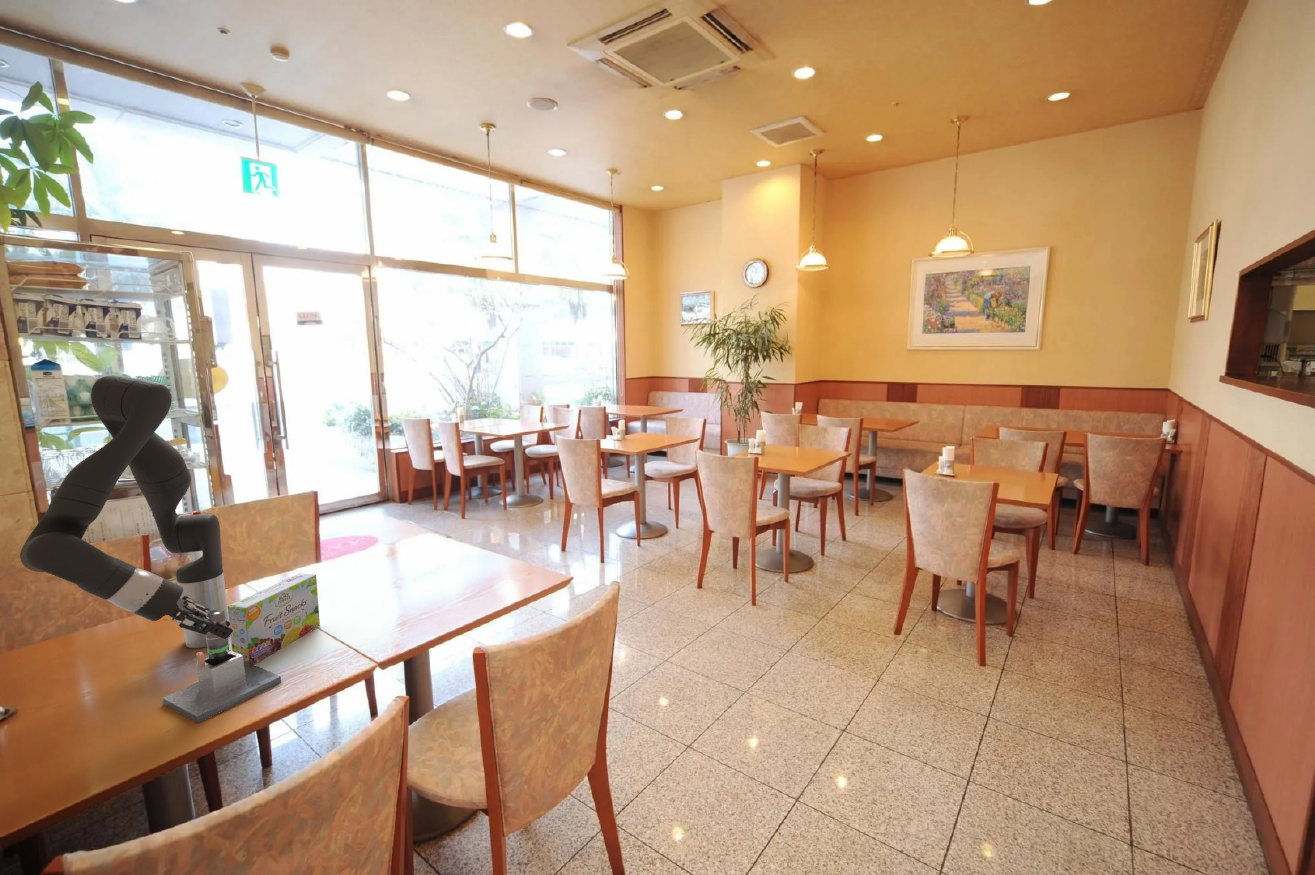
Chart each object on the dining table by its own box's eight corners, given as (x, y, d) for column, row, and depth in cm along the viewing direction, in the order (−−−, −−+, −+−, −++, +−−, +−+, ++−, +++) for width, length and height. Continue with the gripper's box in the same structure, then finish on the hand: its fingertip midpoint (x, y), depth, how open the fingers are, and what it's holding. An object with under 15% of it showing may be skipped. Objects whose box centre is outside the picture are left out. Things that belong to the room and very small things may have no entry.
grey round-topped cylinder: (206, 669, 122) (199, 615, 120) (225, 661, 125) (219, 608, 123) (215, 674, 120) (208, 618, 118) (235, 665, 123) (228, 611, 121)
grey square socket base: (163, 704, 119) (156, 655, 118) (246, 667, 133) (240, 623, 132) (198, 723, 113) (191, 672, 111) (281, 682, 127) (276, 636, 126)
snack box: (252, 668, 133) (245, 607, 131) (232, 665, 134) (225, 605, 132) (322, 626, 154) (316, 573, 152) (304, 624, 155) (299, 571, 153)
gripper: (163, 588, 109) (247, 626, 119) (159, 568, 119) (237, 605, 129) (129, 623, 106) (218, 659, 116) (129, 599, 116) (210, 634, 126)
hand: (227, 630), depth 123 cm, fingers closed on grey round-topped cylinder, 3 cm apart
